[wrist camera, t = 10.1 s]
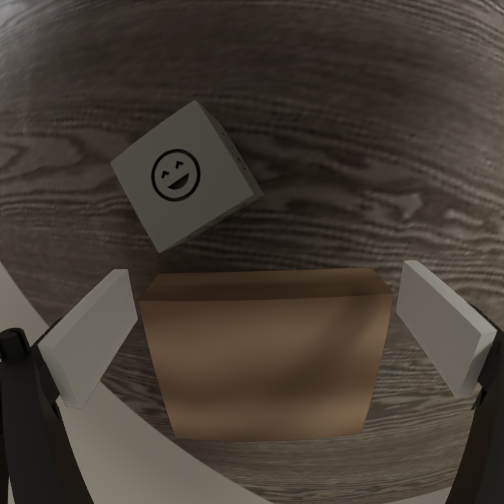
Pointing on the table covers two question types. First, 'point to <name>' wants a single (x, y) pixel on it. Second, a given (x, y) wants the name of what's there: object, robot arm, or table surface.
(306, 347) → the brown flat block
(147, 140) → the dice cube
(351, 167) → the table surface
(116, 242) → the table surface
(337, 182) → the table surface
